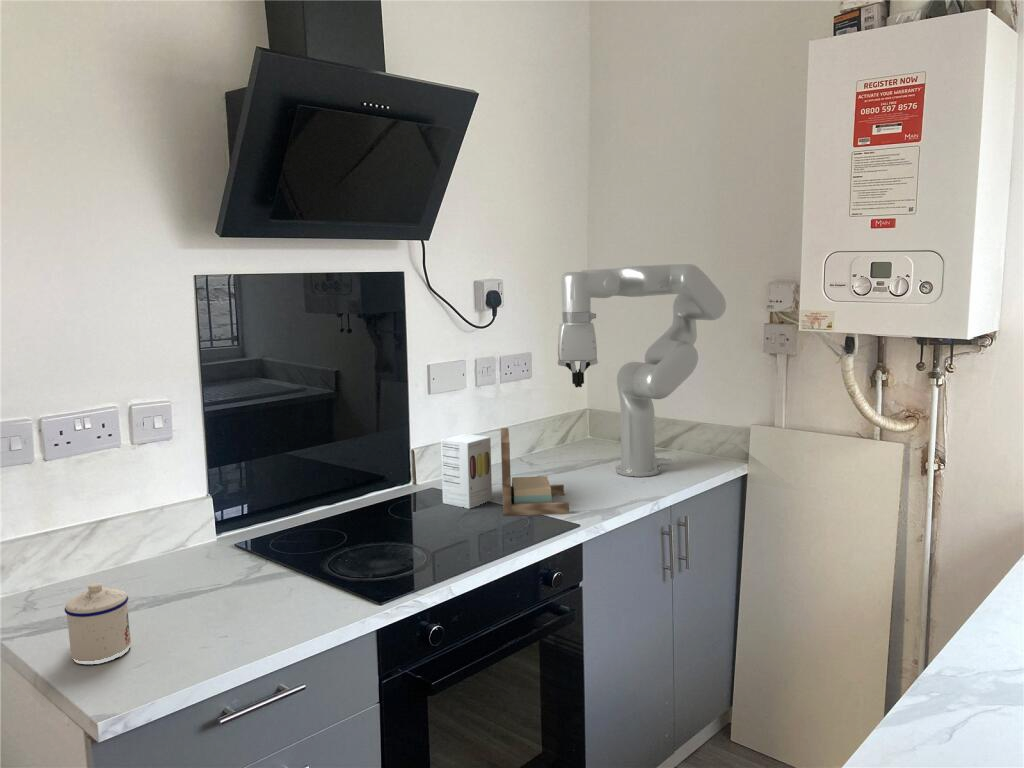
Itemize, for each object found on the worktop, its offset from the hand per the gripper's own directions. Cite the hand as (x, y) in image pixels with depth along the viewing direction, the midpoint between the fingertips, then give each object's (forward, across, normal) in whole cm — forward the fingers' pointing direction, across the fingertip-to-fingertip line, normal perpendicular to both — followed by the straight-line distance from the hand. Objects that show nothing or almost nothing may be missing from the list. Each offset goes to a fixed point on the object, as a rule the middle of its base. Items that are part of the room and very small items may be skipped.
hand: (578, 386), depth 224 cm
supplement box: (+27, +31, +14) cm, 43 cm away
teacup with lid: (+26, +90, +91) cm, 130 cm away
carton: (+27, +15, +19) cm, 36 cm away
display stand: (+27, +14, +18) cm, 35 cm away
